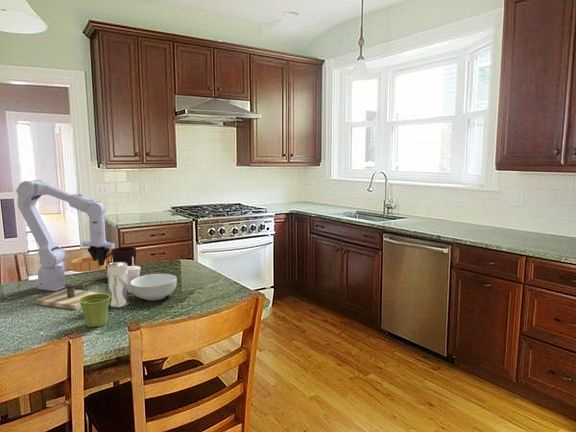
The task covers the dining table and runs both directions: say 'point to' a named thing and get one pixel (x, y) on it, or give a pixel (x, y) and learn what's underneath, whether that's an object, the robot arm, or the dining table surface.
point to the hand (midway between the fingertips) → (99, 264)
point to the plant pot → (95, 309)
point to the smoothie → (132, 274)
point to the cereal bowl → (153, 286)
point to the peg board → (65, 298)
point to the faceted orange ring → (86, 264)
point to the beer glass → (118, 283)
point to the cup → (123, 255)
